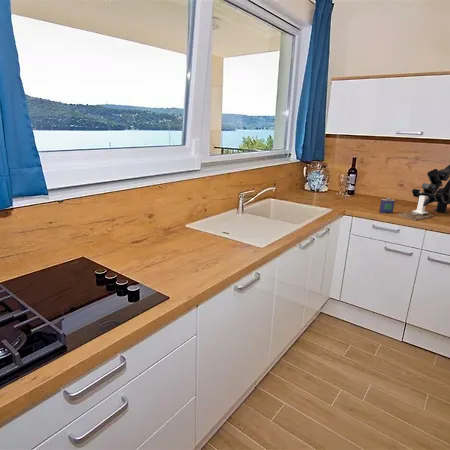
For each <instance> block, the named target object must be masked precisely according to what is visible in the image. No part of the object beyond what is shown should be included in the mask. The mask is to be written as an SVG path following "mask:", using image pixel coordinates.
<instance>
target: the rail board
mask: <svg viewBox="0 0 450 450" xmlns="http://www.w3.org/2000/svg"><path fill="white" fill-rule="evenodd" d="M425 211H426V210H425ZM426 212H428V213H426V214H419V213H415V212H413V211H409V212H407V211H403V213H398V214H397V216H398V217H399V218H405V219H408V218H409V219H408V220H411V219H412V221H421V220H425V219H426V220H427V219H430V218H434V217H435V215H433V214H430V211H428V210H427V211H426Z"/></svg>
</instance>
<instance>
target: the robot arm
mask: <svg viewBox="0 0 450 450" xmlns="http://www.w3.org/2000/svg"><path fill="white" fill-rule="evenodd" d="M427 178H428V180H429V182H430V183H426V182H423V183H422V185H421V189H422V190H421V189H418V188H413V189H412V190H411V193H412V195H413V197H414V198H417V203H416V205H417V206H418V201H419V196H421V195H423V196H428V197H427V200H426V201H425V203H424V204H423V206H425V207H427V205H429V204H432V203H436V202H437V203H436V207H435V208H433V211H435V212H437V213H447V214H449V212H448V211H447V208H448V205H450V164H448V165H447V166H446V167H445V168H443V169H439V170H438V168H433V169H432V170H430V171H427ZM443 182H446V184H445V185H444V187H443Z"/></svg>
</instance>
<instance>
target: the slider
mask: <svg viewBox="0 0 450 450" xmlns="http://www.w3.org/2000/svg"><path fill="white" fill-rule="evenodd" d="M427 199H428V196H423V195H421V196H419V201H418V200H417V202H418V205H417V207H416V209H414V210H412V212H415V213H419V214H426V213H428V212H429V211H427V212H426V206H423V204H424V203H425V201H426V200H427Z"/></svg>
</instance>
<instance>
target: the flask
mask: <svg viewBox="0 0 450 450" xmlns="http://www.w3.org/2000/svg"><path fill="white" fill-rule="evenodd" d="M395 203H396V200H395V199H391V197H390V196H389V197H387V198H383V199H380V206H379V211H378V213H379V214H385V215H386V214H393V213H394V207H395Z"/></svg>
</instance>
